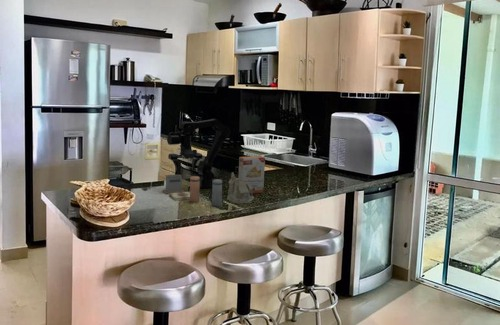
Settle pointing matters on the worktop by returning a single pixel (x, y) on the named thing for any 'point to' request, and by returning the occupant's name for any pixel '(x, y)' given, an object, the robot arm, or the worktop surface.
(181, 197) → the birch dock plate
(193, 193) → the terracotta cartridge
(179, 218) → the worktop surface
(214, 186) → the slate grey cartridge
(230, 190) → the ceramic cottage
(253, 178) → the cracker box
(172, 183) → the service housing
